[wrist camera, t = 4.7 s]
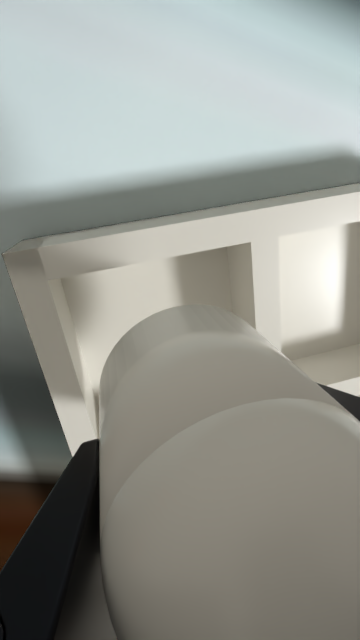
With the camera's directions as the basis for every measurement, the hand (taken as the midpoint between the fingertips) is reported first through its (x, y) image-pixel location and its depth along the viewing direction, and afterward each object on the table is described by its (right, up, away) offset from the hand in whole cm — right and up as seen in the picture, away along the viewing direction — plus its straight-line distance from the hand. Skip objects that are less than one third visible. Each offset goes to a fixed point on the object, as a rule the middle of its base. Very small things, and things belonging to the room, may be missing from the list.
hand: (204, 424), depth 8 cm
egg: (0, +1, +1) cm, 2 cm away
